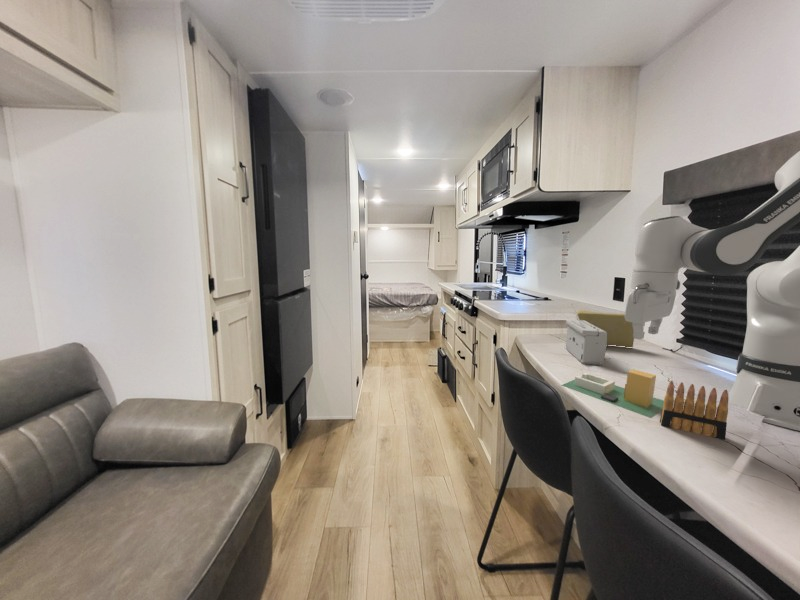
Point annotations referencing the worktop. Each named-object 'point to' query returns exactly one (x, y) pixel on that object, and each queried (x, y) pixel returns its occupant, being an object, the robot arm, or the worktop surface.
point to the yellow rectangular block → (639, 388)
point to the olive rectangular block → (611, 326)
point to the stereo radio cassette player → (586, 341)
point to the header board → (611, 393)
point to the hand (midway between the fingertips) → (645, 336)
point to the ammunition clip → (695, 411)
